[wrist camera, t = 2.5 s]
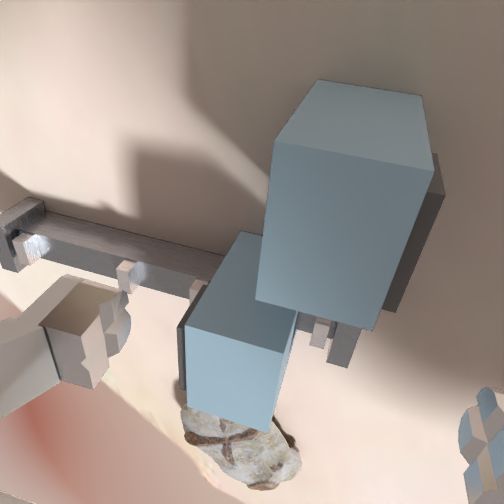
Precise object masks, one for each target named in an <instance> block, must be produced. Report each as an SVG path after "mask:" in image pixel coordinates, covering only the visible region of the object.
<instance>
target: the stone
mask: <svg viewBox="0 0 504 504" xmlns="http://www.w3.org/2000/svg"><path fill="white" fill-rule="evenodd" d="M181 420H182V423H183V428H184V431H185V435H184V437H185V440H186V441H187V442H188V443H189V444H191V445H193V446H197V447H198V448H199V449H201V450H202V451H204V452H205V453H206V454H208V455H209V456H211V457H212V458H213V460H214V461H215V462H216V463H217V464H218V465H219V466H220V468H221V469H222V470H223V472H225V473H226V474H227V475H229V476H231V477H232V478H234V479H236V480H238V481H241V482H243V483H245V484H247V486H248V488H250V489H254V490H260V491H263V490H272V489H275V488H276V487H277V486H278V485H279V483H281V482H283V481H287V480H291V479H293V478H294V477H295V476H296V475H297V474H298V473H299V471H300V469H301V466H302V462H301V458H300V455H299V450H298V448H297V447H296V446H292V447H291V448H290V447H289V445H288V443H287V441H286V439H285V438H284V436H283V435H282V433H281V432H280V430H279V429H278V427H277V426H276V425H275V424H274V422H273V421H272V420H271V424H270V427H269V431H268V433H265V432H262V431H259V430H256V429H253V428H250V427H247V426H244V425H241V424H238V423H235V422H232V421H229V420H226V419H223V418H220V417H217V416H214V415H211V414H208V413H205V412H202V411H199V410H196V409H193V408H190V407H187V403H185V404H184V405H183V407H182V410H181Z"/></svg>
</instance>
